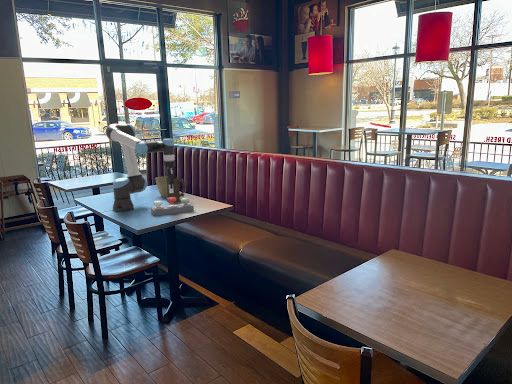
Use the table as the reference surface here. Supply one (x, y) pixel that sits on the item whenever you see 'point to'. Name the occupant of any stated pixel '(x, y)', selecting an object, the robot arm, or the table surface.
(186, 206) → the button panel
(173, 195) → the beer stein
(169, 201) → the red button
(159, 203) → the white button
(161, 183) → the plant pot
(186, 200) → the green button
